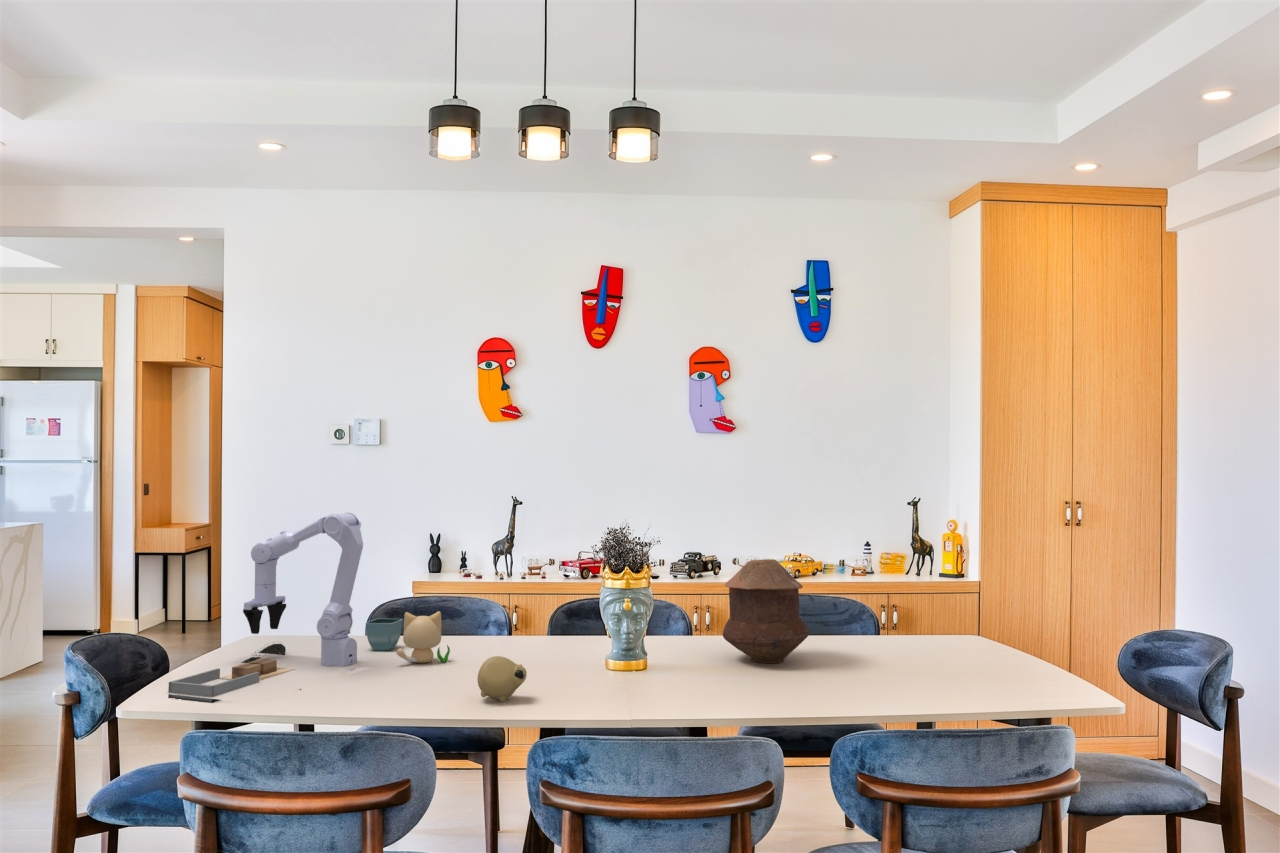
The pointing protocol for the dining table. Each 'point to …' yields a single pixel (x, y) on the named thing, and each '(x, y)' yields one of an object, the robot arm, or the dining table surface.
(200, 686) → the tray
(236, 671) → the tile
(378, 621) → the flower pot
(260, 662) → the brown wooden block
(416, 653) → the kitten
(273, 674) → the oak board
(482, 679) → the toy pig
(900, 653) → the dining table surface
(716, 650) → the dining table surface
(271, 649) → the hairbrush
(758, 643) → the pottery vessel
